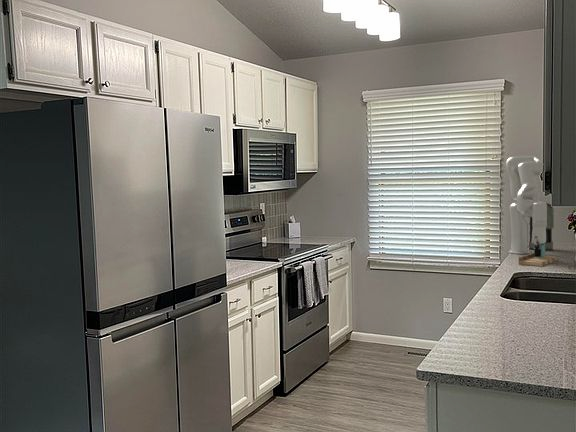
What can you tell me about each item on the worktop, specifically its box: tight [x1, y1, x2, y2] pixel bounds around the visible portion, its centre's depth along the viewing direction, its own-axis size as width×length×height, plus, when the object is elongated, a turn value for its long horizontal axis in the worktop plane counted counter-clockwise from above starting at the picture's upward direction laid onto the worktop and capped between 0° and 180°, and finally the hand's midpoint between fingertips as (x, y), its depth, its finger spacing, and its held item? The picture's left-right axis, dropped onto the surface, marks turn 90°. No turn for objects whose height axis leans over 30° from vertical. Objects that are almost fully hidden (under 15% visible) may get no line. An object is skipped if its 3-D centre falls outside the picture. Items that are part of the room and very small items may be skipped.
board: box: [518, 251, 558, 267], centre depth 311 cm, size 24×12×4 cm, turn 136°
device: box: [528, 202, 555, 251], centre depth 357 cm, size 14×8×30 cm, turn 59°
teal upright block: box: [533, 244, 546, 258], centre depth 317 cm, size 5×4×7 cm
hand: (539, 255), depth 317 cm, fingers closed on teal upright block, 5 cm apart
